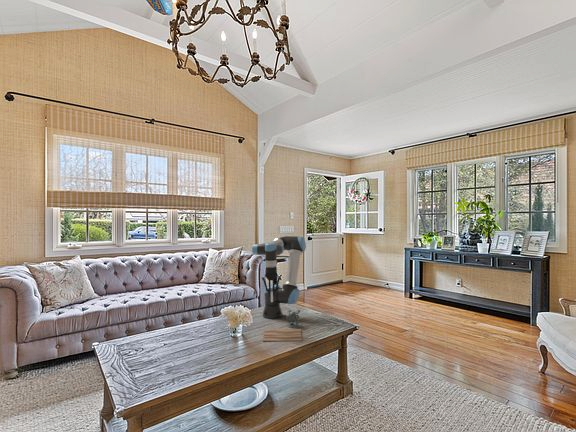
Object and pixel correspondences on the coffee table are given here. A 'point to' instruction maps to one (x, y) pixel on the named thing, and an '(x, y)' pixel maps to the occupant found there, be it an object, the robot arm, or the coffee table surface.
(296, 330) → the plank
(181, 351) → the coffee table surface
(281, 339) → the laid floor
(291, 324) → the figurine
